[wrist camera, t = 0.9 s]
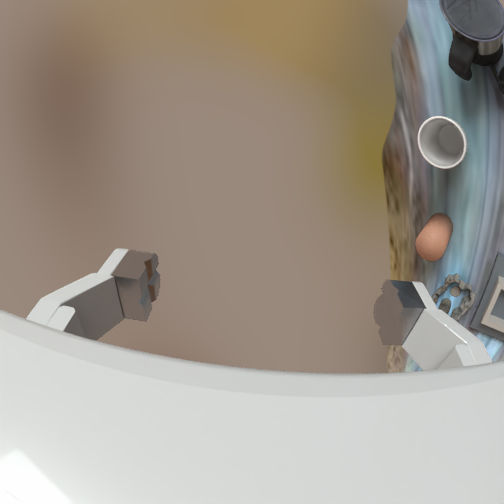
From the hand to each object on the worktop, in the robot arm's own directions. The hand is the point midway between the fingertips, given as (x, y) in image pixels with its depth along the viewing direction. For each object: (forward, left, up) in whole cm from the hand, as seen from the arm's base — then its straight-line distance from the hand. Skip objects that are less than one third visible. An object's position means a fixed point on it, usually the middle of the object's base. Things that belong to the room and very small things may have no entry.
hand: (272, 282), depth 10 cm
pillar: (0, +13, -47) cm, 48 cm away
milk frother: (-8, -19, -47) cm, 51 cm away
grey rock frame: (-7, +26, -47) cm, 54 cm away
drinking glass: (0, -3, -47) cm, 47 cm away
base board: (-19, +22, -47) cm, 55 cm away
